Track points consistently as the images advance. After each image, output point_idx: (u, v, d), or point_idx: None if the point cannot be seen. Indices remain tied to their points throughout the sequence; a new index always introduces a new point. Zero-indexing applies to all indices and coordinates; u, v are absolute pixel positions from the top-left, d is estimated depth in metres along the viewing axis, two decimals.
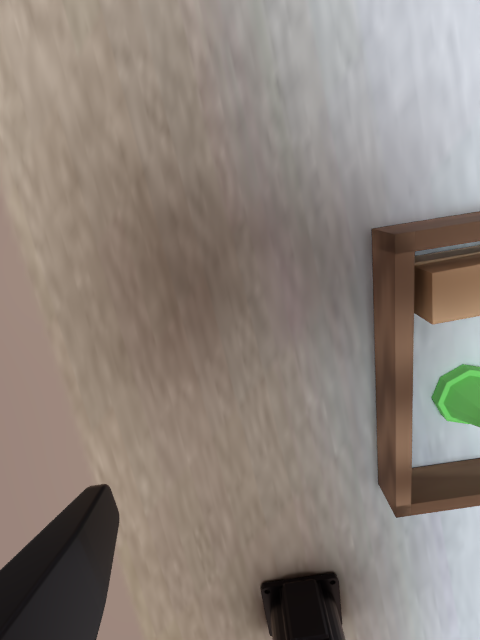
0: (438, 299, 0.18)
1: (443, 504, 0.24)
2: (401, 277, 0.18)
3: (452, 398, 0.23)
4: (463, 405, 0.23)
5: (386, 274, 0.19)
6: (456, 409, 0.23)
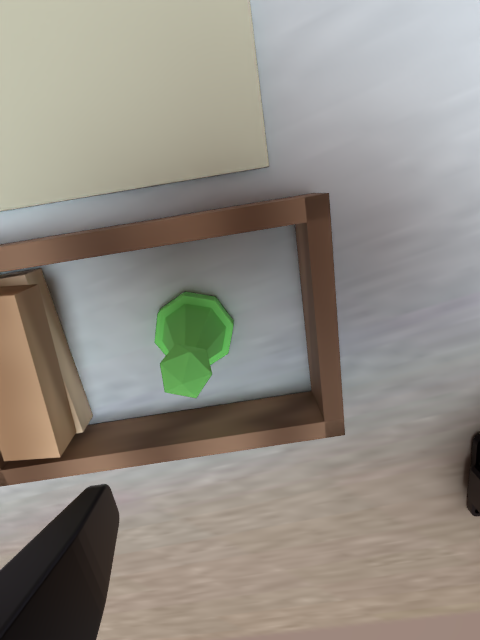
0: (32, 454, 0.18)
1: (329, 383, 0.17)
2: (28, 476, 0.19)
3: None
4: None
5: None
6: None
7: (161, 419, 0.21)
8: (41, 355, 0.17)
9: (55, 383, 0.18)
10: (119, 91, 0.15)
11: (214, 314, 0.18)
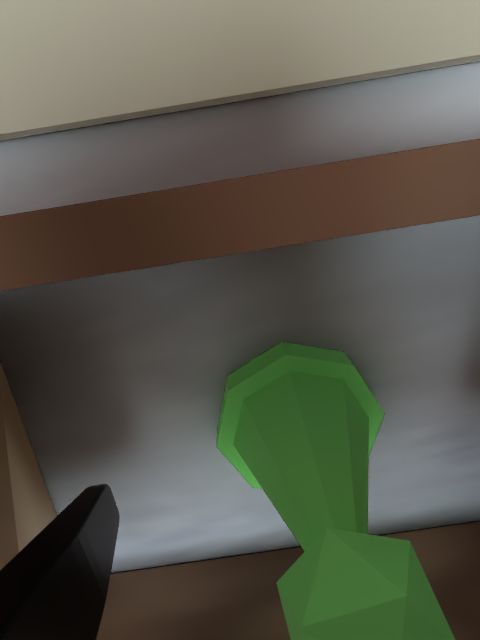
0: None
1: None
2: None
3: None
4: None
5: None
6: None
7: (218, 575, 0.11)
8: None
9: None
10: None
11: (350, 394, 0.08)
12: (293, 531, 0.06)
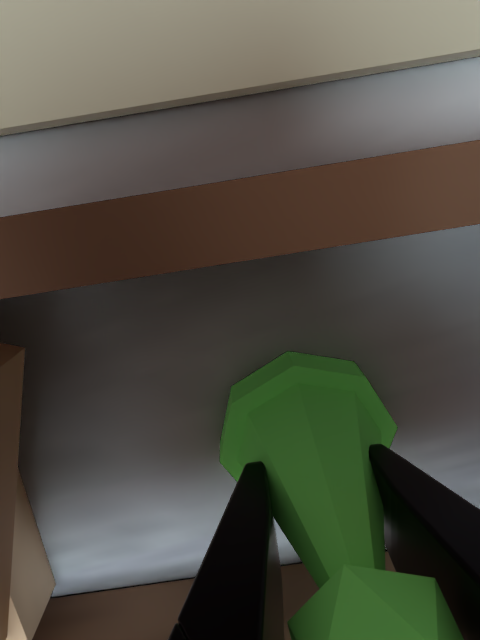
0: None
1: None
2: None
3: None
4: None
5: None
6: None
7: None
8: None
9: None
10: None
11: (362, 408, 0.08)
12: (305, 560, 0.06)
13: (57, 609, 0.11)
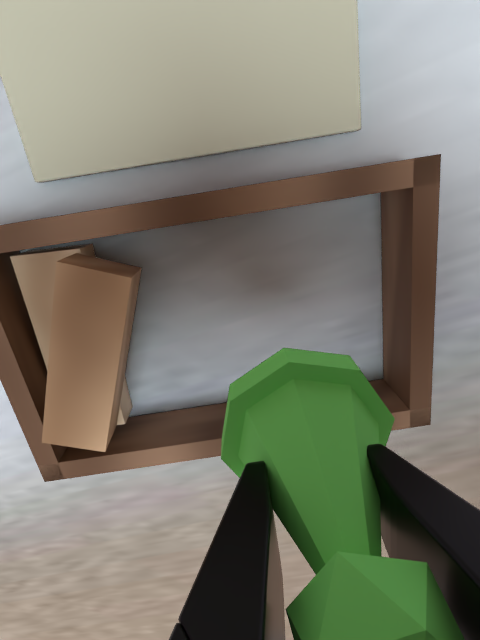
0: (76, 442, 0.16)
1: (419, 367, 0.16)
2: (87, 469, 0.17)
3: None
4: None
5: None
6: None
7: (223, 408, 0.19)
8: (124, 343, 0.15)
9: (122, 373, 0.16)
10: (204, 42, 0.14)
11: (358, 401, 0.08)
12: (303, 551, 0.06)
13: (134, 420, 0.20)
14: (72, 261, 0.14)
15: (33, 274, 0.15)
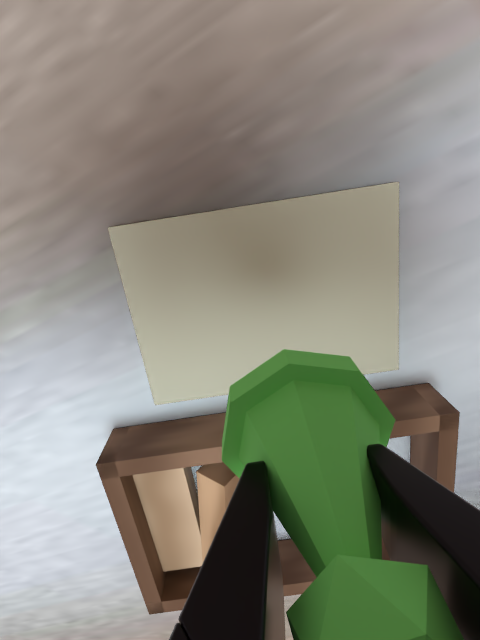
0: None
1: None
2: (182, 606, 0.22)
3: None
4: None
5: None
6: None
7: (282, 547, 0.24)
8: None
9: None
10: (286, 321, 0.19)
11: (358, 402, 0.08)
12: (303, 553, 0.06)
13: None
14: (221, 478, 0.20)
15: None
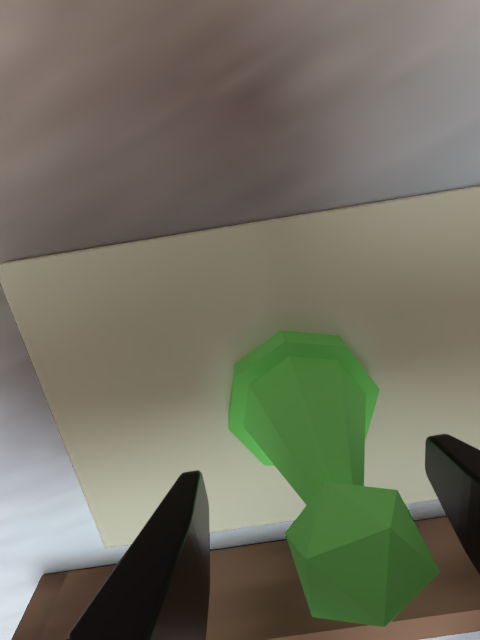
0: None
1: None
2: None
3: None
4: None
5: None
6: None
7: None
8: None
9: None
10: None
11: (346, 374, 0.09)
12: (300, 493, 0.07)
13: None
14: None
15: None
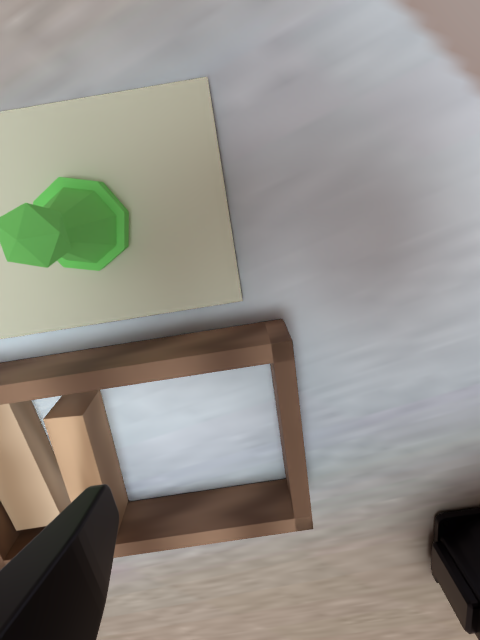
0: (122, 511, 0.22)
1: (298, 487, 0.20)
2: None
3: (78, 260, 0.16)
4: (71, 257, 0.15)
5: None
6: (86, 259, 0.16)
7: (148, 505, 0.23)
8: None
9: None
10: None
11: (97, 198, 0.16)
12: None
13: None
14: (75, 412, 0.18)
15: None
